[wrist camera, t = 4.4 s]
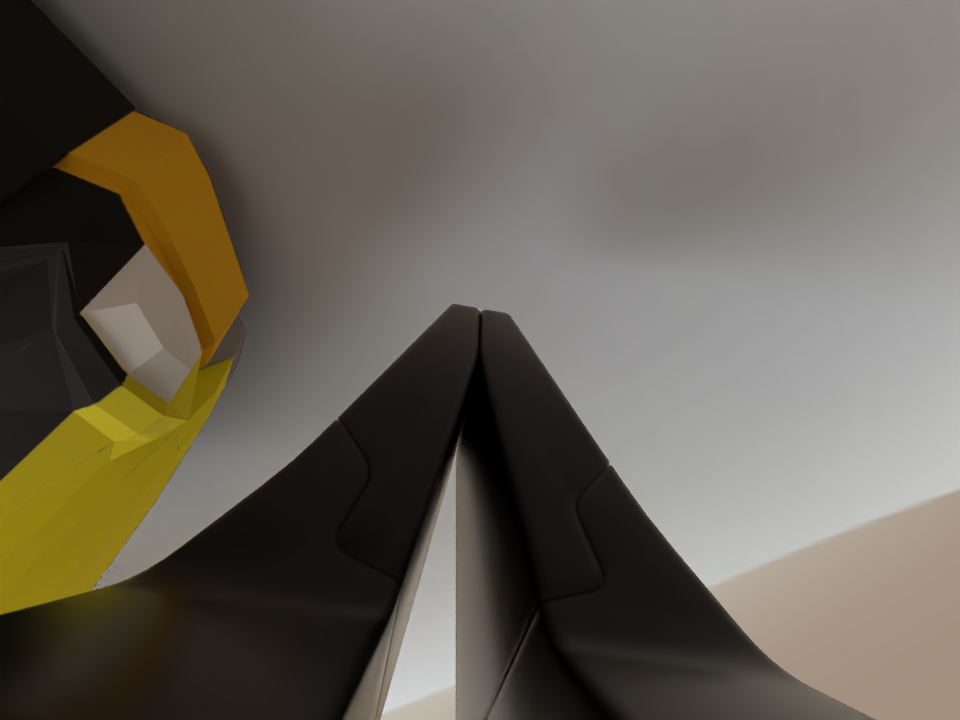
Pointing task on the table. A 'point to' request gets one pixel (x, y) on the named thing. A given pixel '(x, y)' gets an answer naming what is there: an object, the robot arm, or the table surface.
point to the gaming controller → (97, 311)
